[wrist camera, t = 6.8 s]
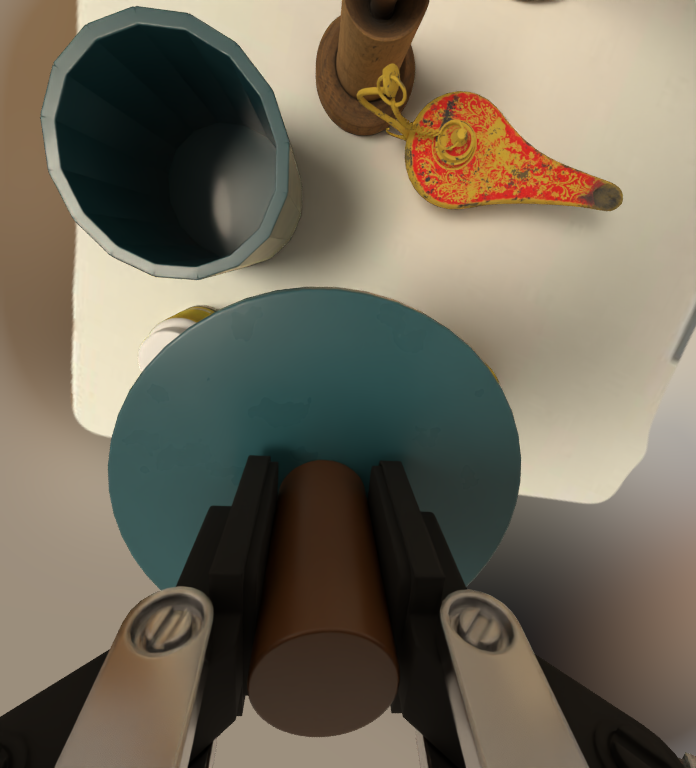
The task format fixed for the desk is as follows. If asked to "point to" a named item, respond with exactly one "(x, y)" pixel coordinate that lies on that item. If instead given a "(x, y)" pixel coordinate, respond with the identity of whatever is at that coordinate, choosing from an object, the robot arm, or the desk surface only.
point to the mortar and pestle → (366, 59)
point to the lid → (315, 475)
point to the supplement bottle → (170, 332)
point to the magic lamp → (481, 156)
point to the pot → (170, 146)
